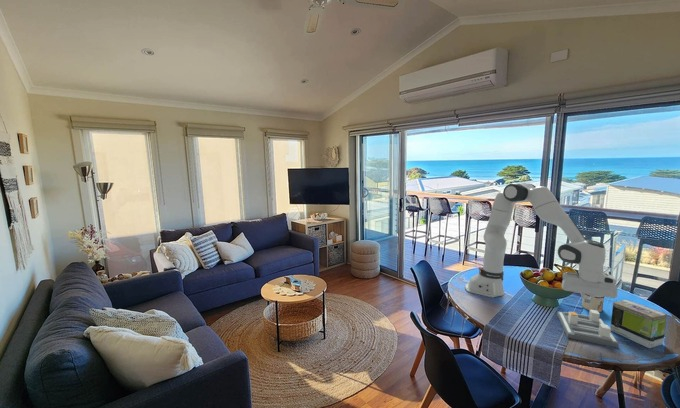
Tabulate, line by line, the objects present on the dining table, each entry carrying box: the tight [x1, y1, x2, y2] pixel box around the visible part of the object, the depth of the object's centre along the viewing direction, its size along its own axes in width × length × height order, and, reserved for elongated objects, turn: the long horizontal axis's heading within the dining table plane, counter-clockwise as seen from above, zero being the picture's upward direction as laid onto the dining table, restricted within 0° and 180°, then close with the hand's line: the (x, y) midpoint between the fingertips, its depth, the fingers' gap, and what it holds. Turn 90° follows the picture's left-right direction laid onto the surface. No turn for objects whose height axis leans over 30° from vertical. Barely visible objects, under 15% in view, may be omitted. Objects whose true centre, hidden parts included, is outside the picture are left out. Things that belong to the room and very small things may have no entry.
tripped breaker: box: [568, 310, 578, 325], centre depth 143 cm, size 3×4×5 cm
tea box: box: [609, 299, 668, 349], centre depth 134 cm, size 15×10×15 cm, turn 17°
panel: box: [556, 309, 619, 348], centre depth 141 cm, size 18×22×7 cm
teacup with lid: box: [581, 294, 605, 313], centre depth 161 cm, size 12×9×12 cm
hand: (586, 302), depth 140 cm, fingers closed
